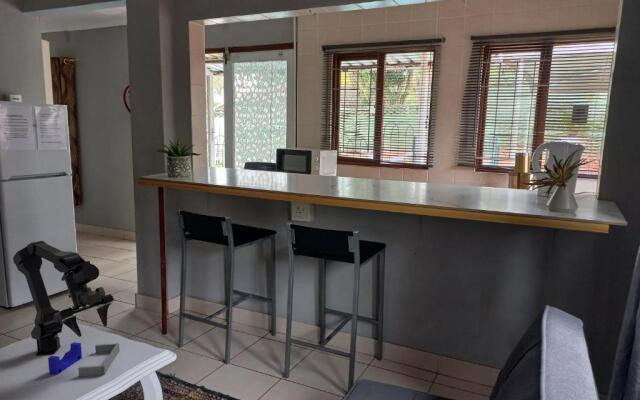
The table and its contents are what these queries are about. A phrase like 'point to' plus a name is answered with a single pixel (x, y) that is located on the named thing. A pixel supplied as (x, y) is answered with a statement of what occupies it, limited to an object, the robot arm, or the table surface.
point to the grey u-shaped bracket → (103, 368)
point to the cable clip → (65, 359)
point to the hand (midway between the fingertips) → (93, 331)
